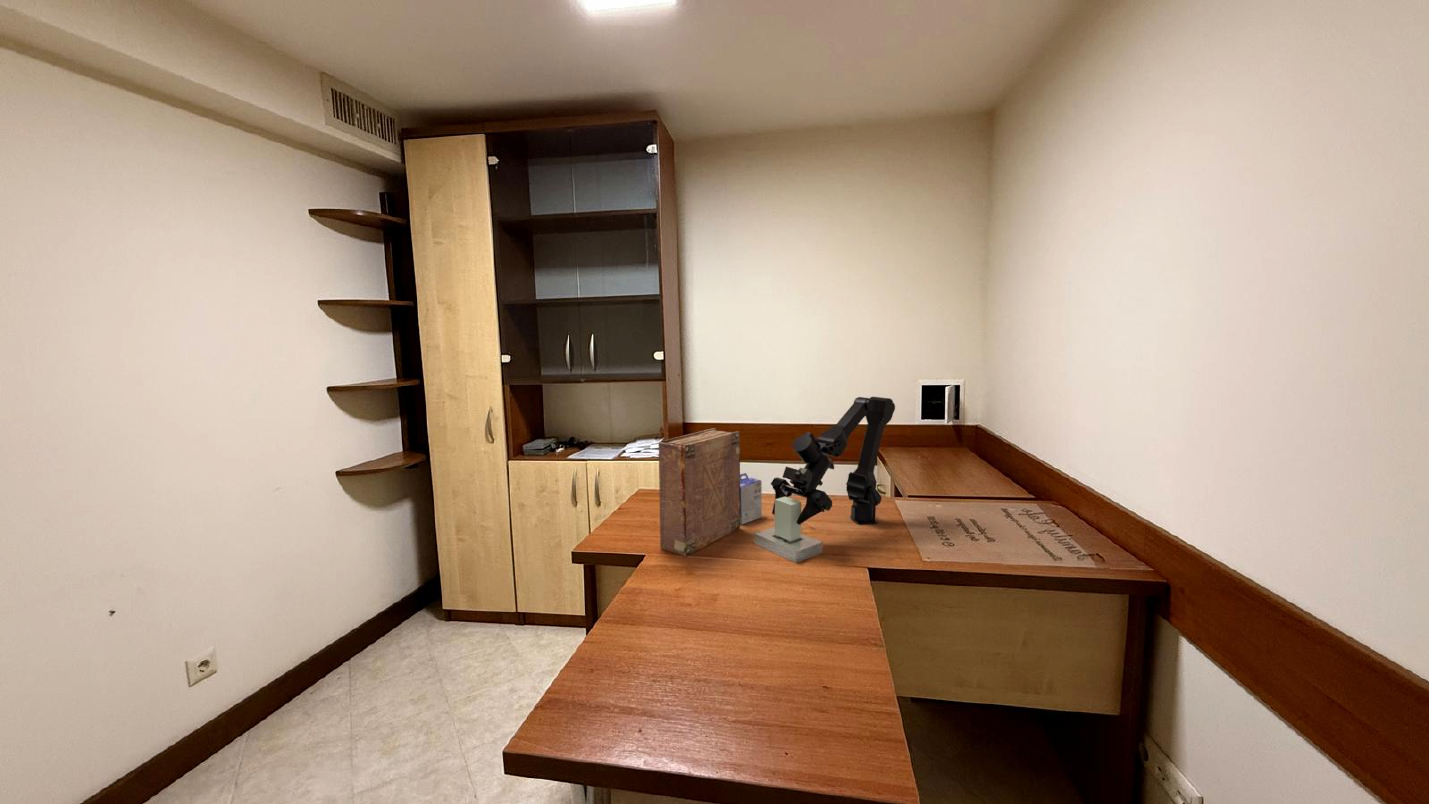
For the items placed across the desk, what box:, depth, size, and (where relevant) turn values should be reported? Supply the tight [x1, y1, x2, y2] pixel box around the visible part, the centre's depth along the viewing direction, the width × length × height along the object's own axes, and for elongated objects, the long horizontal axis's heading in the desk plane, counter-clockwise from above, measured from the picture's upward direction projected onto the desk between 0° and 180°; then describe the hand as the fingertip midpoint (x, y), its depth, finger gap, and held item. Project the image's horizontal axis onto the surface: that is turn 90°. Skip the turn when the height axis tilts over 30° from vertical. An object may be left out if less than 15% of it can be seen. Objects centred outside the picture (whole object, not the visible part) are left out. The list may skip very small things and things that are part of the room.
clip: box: [774, 497, 802, 544], centre depth 144 cm, size 4×6×14 cm, turn 38°
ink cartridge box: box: [740, 472, 763, 526], centre depth 167 cm, size 10×6×14 cm, turn 134°
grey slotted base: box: [753, 526, 823, 564], centre depth 145 cm, size 10×16×3 cm, turn 38°
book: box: [658, 427, 741, 558], centre depth 150 cm, size 25×9×30 cm, turn 143°
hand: (785, 518), depth 144 cm, fingers open, 9 cm apart
